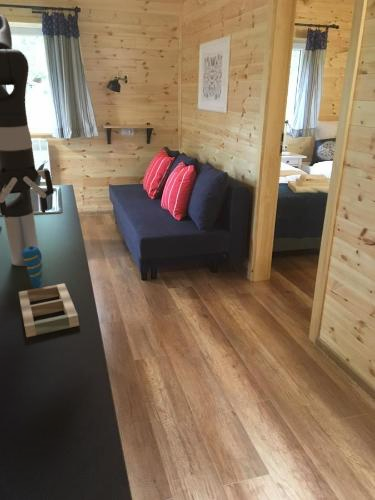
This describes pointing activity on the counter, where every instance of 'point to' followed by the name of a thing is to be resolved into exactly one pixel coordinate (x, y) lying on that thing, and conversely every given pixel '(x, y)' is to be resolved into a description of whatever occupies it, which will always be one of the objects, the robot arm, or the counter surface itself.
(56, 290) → the wooden frame
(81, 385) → the counter surface
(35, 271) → the ornament
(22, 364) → the counter surface
